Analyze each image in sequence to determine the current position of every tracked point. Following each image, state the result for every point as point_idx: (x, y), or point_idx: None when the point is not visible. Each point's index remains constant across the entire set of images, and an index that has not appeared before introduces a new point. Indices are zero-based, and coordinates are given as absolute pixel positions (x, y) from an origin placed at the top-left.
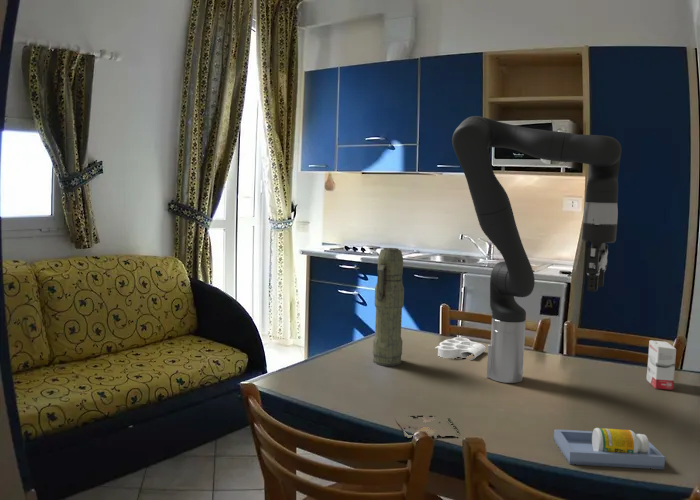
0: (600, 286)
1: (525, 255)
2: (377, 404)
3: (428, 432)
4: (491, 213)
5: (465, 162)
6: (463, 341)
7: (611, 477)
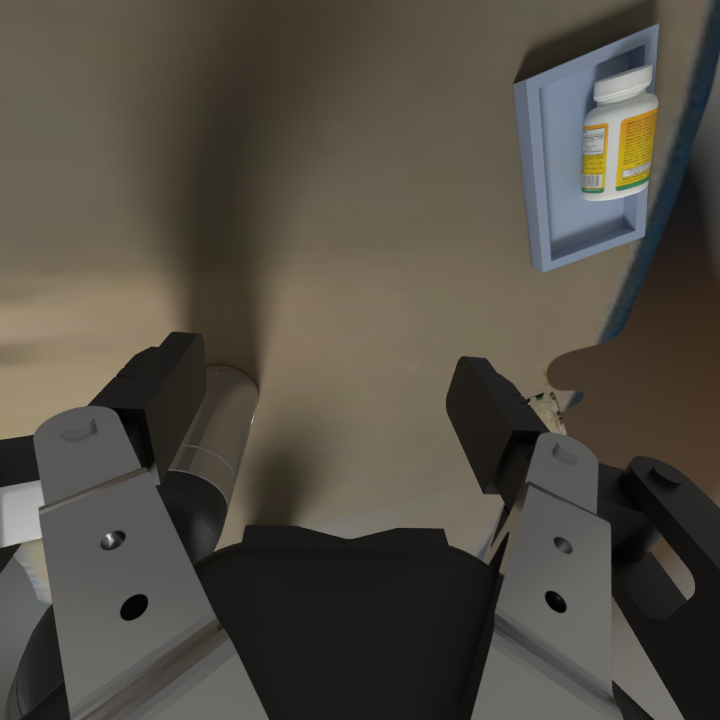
0: (203, 346)
1: None
2: (461, 499)
3: (549, 427)
4: None
5: None
6: None
7: (674, 154)
